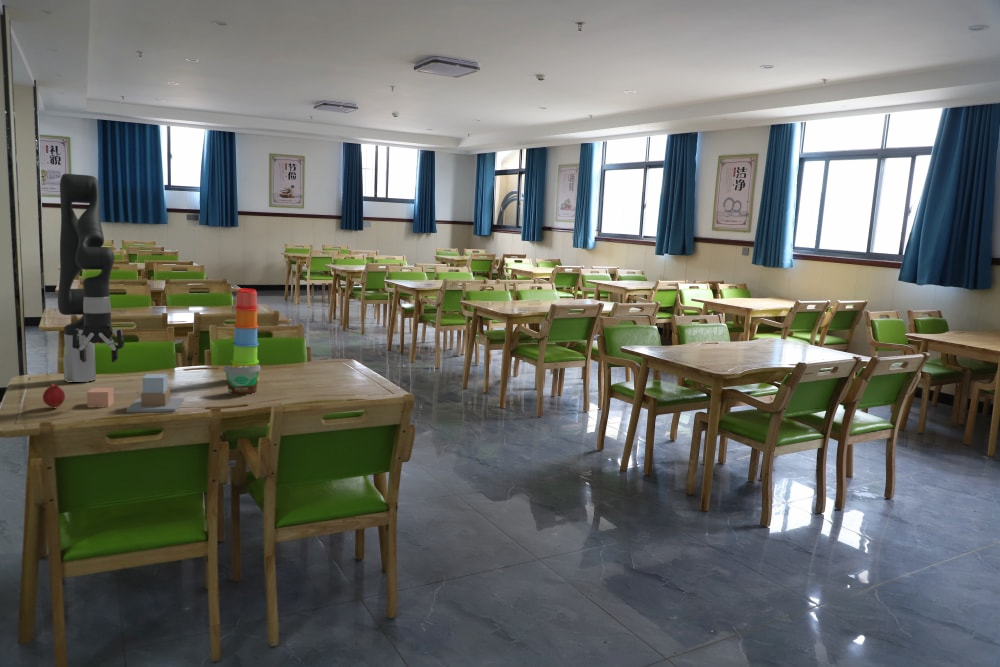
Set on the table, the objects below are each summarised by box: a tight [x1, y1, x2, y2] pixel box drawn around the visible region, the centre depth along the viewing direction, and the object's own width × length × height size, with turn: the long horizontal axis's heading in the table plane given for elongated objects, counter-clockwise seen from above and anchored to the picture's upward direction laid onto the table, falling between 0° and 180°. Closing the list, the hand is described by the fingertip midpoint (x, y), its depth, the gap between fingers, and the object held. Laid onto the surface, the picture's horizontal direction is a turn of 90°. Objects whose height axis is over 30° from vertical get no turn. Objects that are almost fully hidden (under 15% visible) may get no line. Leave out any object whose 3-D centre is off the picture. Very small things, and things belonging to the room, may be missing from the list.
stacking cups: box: [230, 287, 260, 381], centre depth 275 cm, size 10×10×35 cm
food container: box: [223, 364, 261, 396], centre depth 256 cm, size 12×6×10 cm, turn 117°
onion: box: [42, 383, 66, 408], centre depth 227 cm, size 6×6×8 cm
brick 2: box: [142, 373, 168, 394], centre depth 234 cm, size 6×6×5 cm
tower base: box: [126, 388, 185, 413], centre depth 235 cm, size 14×14×5 cm
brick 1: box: [86, 387, 115, 408], centre depth 234 cm, size 6×6×5 cm
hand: (99, 361), depth 232 cm, fingers open, 8 cm apart
